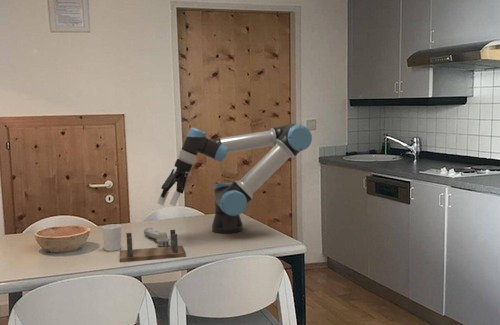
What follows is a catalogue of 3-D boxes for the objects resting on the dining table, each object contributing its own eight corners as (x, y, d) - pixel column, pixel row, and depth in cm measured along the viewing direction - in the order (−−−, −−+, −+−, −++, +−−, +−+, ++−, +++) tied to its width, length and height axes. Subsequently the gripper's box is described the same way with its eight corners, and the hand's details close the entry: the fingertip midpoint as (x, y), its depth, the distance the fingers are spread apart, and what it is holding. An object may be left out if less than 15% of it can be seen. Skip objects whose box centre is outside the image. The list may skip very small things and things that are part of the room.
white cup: (102, 248, 239) (100, 225, 238) (120, 245, 242) (119, 223, 241) (104, 252, 232) (103, 229, 231) (123, 250, 235) (122, 227, 234)
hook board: (182, 248, 235) (181, 228, 234) (185, 256, 223) (185, 234, 222) (120, 254, 229) (118, 232, 228) (120, 262, 217) (119, 239, 216)
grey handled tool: (152, 226, 261) (170, 230, 239) (153, 240, 261) (171, 245, 239) (142, 228, 259) (158, 231, 237) (143, 242, 259) (160, 247, 236)
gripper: (188, 160, 259) (170, 201, 260) (167, 154, 235) (147, 200, 236) (201, 166, 257) (183, 208, 258) (182, 161, 233) (162, 207, 234)
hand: (166, 204), depth 247 cm, fingers open, 13 cm apart
